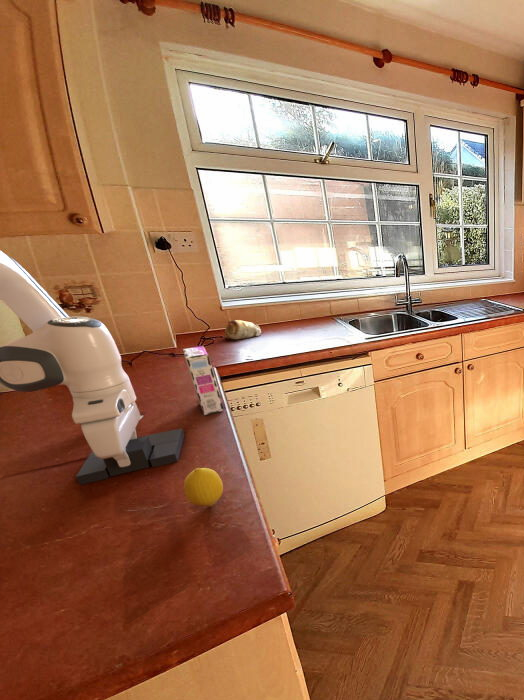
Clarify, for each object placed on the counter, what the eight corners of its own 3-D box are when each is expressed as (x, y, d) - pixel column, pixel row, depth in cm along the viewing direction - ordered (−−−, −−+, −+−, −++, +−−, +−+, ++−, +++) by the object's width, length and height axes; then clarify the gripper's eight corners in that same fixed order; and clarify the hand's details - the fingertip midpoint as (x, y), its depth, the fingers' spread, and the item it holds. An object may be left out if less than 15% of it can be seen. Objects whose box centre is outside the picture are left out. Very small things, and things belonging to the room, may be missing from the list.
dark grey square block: (110, 476, 87) (102, 457, 85) (117, 462, 92) (110, 444, 90) (149, 467, 90) (142, 448, 88) (154, 453, 95) (147, 436, 93)
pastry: (218, 340, 183) (213, 322, 180) (237, 332, 194) (232, 315, 191) (250, 340, 182) (245, 322, 179) (267, 332, 194) (262, 315, 191)
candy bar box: (226, 410, 116) (208, 354, 110) (204, 416, 113) (185, 358, 107) (220, 398, 124) (203, 344, 117) (199, 403, 121) (181, 348, 115)
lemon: (186, 508, 77) (172, 471, 74) (219, 492, 81) (207, 456, 78) (200, 519, 74) (186, 481, 71) (233, 502, 78) (221, 465, 75)
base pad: (79, 485, 84) (75, 476, 84) (98, 453, 96) (95, 446, 95) (177, 461, 92) (174, 453, 91) (184, 435, 103) (182, 428, 102)
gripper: (98, 384, 92) (122, 439, 97) (68, 420, 75) (97, 484, 81) (135, 378, 95) (156, 432, 100) (114, 411, 78) (139, 474, 84)
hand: (130, 456), depth 90 cm, fingers closed on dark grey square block, 6 cm apart
